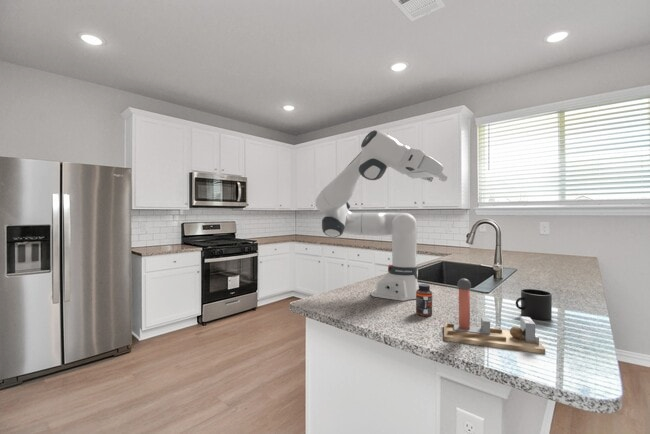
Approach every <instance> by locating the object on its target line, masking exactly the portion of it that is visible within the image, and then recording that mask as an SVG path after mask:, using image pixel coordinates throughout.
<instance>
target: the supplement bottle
mask: <svg viewBox="0 0 650 434" xmlns="http://www.w3.org/2000/svg"><path fill="white" fill-rule="evenodd" d="M430 287H431V286H430V284H426V283H418V290H417V291H416V299H415V313H416V315H418V316H421V317H431V316H432V315H433V292H432V291H431V288H430Z"/></svg>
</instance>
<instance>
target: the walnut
mask: <svg viewBox="0 0 650 434" xmlns="http://www.w3.org/2000/svg"><path fill="white" fill-rule="evenodd" d="M509 330H510V334H511V336H512V337H514V338H517V339H518V338H521V337H522V336H523V331H522V329H521V327H519V326H517V325H516V326H515V325H514V326H512V327H510V328H509Z"/></svg>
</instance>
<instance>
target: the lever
mask: <svg viewBox="0 0 650 434" xmlns="http://www.w3.org/2000/svg"><path fill="white" fill-rule="evenodd" d="M457 287H458V324H459V325H456V324H457V323H453V324H454V331H460V332H469V333H477V334H485V335H490V328H491V321H490V318H489V317H488V316H480V326H479V327H474V326H475V325H471V314H470V313H471V308H470V307H471V298H470V297H471V296H470V295H471V294H470V293H471V288H472V283H471V281H470V280H469V279H467V278H462V277H461V278H460V279H459V280H458V281H457Z"/></svg>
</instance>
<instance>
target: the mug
mask: <svg viewBox="0 0 650 434" xmlns="http://www.w3.org/2000/svg"><path fill="white" fill-rule="evenodd" d="M552 297H553V296H552V293H551V292H550V291H546V290H541V289H534V288H525V289H521V290H520V297H518V298H517V299H515V300H516V301H515V306H516V308H517V310H520V314H521V316H522V317H530V318H531V319H532V320H535V321H550V320H552V318H553V317H552V314H553V313H552V311H553V309H552V303H553V301H552V299H553V298H552ZM519 302H520V306H519Z"/></svg>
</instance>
